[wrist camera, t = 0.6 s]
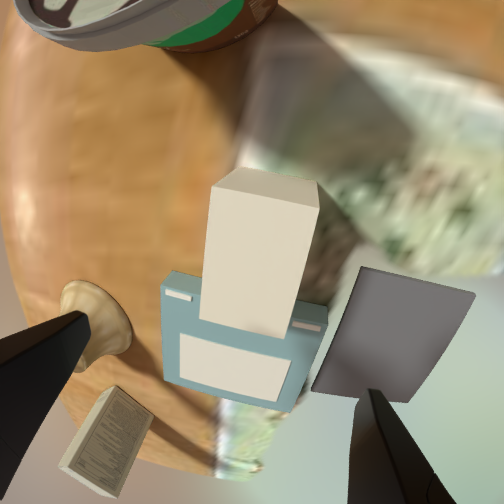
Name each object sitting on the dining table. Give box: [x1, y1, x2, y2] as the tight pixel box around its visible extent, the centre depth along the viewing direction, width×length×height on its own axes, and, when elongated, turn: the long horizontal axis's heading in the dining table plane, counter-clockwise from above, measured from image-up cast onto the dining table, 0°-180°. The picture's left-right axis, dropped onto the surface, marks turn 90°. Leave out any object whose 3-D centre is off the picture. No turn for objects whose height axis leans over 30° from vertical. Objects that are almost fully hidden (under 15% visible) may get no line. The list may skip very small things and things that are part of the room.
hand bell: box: [58, 280, 132, 373], centre depth 18 cm, size 8×8×16 cm
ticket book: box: [161, 271, 328, 413], centre depth 22 cm, size 11×10×2 cm
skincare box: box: [58, 386, 154, 498], centre depth 25 cm, size 6×4×12 cm
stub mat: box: [311, 266, 476, 403], centre depth 21 cm, size 10×12×1 cm
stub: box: [199, 166, 320, 339], centre depth 16 cm, size 4×7×6 cm, turn 170°
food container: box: [13, 0, 278, 53], centre depth 10 cm, size 12×6×10 cm, turn 65°
